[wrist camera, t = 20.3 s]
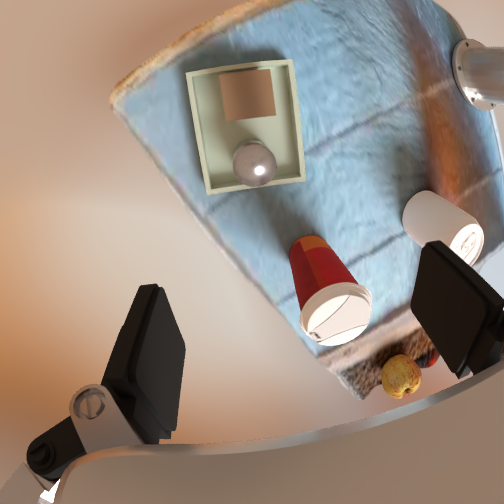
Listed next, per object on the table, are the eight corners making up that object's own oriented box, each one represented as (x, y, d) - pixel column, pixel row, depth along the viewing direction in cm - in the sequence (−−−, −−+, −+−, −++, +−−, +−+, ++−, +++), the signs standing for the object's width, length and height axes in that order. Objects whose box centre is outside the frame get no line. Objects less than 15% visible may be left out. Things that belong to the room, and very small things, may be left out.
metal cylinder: (267, 136, 33) (274, 142, 28) (271, 171, 35) (279, 184, 30) (230, 141, 33) (229, 148, 28) (235, 176, 35) (236, 189, 30)
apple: (390, 375, 60) (404, 407, 51) (367, 369, 57) (382, 404, 49) (416, 351, 56) (433, 382, 48) (395, 343, 54) (414, 378, 45)
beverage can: (391, 213, 39) (436, 251, 29) (426, 178, 37) (477, 207, 26) (414, 245, 42) (454, 286, 32) (445, 213, 40) (490, 246, 29)
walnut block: (263, 75, 29) (270, 68, 24) (269, 114, 31) (276, 115, 26) (221, 80, 29) (218, 74, 24) (227, 119, 32) (226, 121, 26)
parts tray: (288, 62, 29) (292, 59, 27) (301, 176, 36) (305, 181, 34) (189, 75, 29) (185, 72, 27) (208, 189, 36) (206, 195, 34)
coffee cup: (299, 285, 44) (323, 358, 31) (270, 248, 41) (287, 320, 28) (345, 256, 42) (386, 322, 29) (319, 215, 39) (361, 275, 26)
